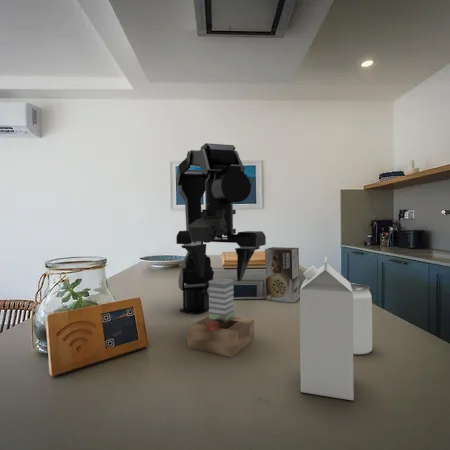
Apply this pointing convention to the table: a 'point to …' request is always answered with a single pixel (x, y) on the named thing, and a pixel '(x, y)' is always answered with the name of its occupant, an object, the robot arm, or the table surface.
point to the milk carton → (326, 333)
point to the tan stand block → (221, 335)
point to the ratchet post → (221, 300)
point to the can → (362, 319)
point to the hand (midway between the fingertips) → (219, 279)
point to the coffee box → (282, 274)
